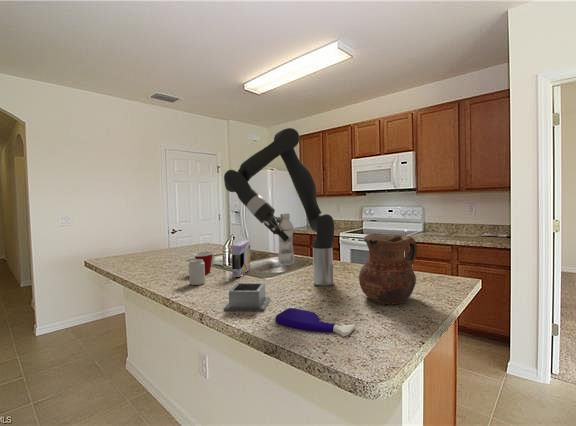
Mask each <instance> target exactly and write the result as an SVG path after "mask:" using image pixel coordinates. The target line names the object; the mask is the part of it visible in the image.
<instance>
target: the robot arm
mask: <svg viewBox="0 0 576 426" xmlns="http://www.w3.org/2000/svg"><path fill="white" fill-rule="evenodd" d="M299 142H300V134H299V132H298V130H297V129H295V128H293V127H286V128H285V127H284V128H283V129H281V130H280V131H277V132H276V133H275V135H274V137H273V141H271V143H270V144H268V145H267V146H264V148H262V149H260V150H258V151H257V152H256V153H253V155H251V156H250V157H248V158H247V159H246V160H244V161H242V163H241V164H240V166H239V169H238V170H236V169H232V168H231V169H228V170H227V171H225V173H224V176H223V182H224V186H225V189H226V190H227V192H230V193H236V195H237V198H238V199H239V200H240V202H241V203H242V204H243V205H244V206H245V208H247V209H248V211H249V212H250V213H251V214H252V215H253V217H255V218H256V220H258V221H259V223H261V224H263V225H264V226H265V227H266V228H267V229H268V230H269V231H270V232H271V233H272V234H273V235H277V236H278V235H279V236H280V237H281V238H282V239H283V240H284V241H287V240H288V239H289V237H288V236H287V235H286V234H285V233H284V232H283V231H282V229H281V228H280V224H279V222H280V221H281V219H280V216H275V215H274V214H275V212H276V210H275V208H273V206H272V205H270V203H268V202H267V200H266V199H264V197H262V196H261V195H260V194H259V193H258V192H257V191H256V190H255V189H254V188H252V186H251V185H250V184H249V181H250V180H251V179H252V178H253V177H254V176H255V175H257V174H258V173H259V172H260V171H262V170H263V169H264V168H266V166H268V165H269V164H270V163H272V162H273V161H274V160H275V159H277V158H278V157H279V156H280V157H281V160H282V161H283V163H284V165H285V167H286V170H287V172H288V174H289V176H290V179H291V182H292V184H293V187H294V188H295V191H296V193H297V195H298V197H299V200H300V202H301V204H302V206H303V209H304V211H305V212H304V213H305V215H306V219H307V221H308V224H309V227H310V229H311V230H312V231H313V232H315V233H316V239H315V240H313V241H312V260H313V261H312V262H313V265H312V266H313V270H312V271H313V284H314V285H317V286H322V287H323V286H325V287H326V286H330V285H331V286H332V285H334V263H333V259H334V257H333V244H334V240H335V221H334V218H333V217H332V216H331V215H330V214H327V213H322V211H321V209H320V207H319V205H318V201H317V187H316V186H317V185H316V183H315V180H314V178H313V176H312V173H311V172H310V170H309V169H308V168H307V167H306V165H305V164H304V163H303V162H302V161H301V159H299V157H298V155H297V152H296V151H295V148H296V147H297V146H298V145H299ZM279 236H278V237H279ZM294 236H295V235H294V234H293V237H294Z"/></svg>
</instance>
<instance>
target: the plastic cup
mask: <svg viewBox="0 0 576 426" xmlns="http://www.w3.org/2000/svg"><path fill="white" fill-rule="evenodd" d="M213 254H214V251H212V250H205V251H199V252H195V253H194V254H193V256H194V258H195V259H202V260H203V262H204V263H205V274H206V275H209V274H211V268H212V259H213ZM208 273H209V274H208Z"/></svg>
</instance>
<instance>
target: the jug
mask: <svg viewBox="0 0 576 426" xmlns="http://www.w3.org/2000/svg"><path fill="white" fill-rule="evenodd" d="M363 240H364V242H365V244H366V246H367V248H368V255H369V256H368V260H367V261H366V262H365V263H364V264H363V265H362V266H361V268H360V271H359V274H358V275H359V276H358V281H359V285H360V289H361V291H362V292H363V294H364V295H365V297H367V298H368V299H370V300H371V301H373V302H374V303H377V304H380V305H381V304H382V305H397V304H402V303H404V302H406V301H407V300H408V299H409V298H410V297H411V295H413V291H414V289H415V287H416V283H417V278H416V276H417V275H416V274H415V272H414V270H413V266H412V265H413V264H414V262H415V259H416V257H417V255H418V245H417V242H416V240H415V239H414V238H413V237H412V236H409V235H406V234H401V235H399V234H389V235H388V234H383V233H381V234H380V233H371V234H368V235H367V234H366V235H365V236H364V237H363ZM408 245H409V252H408V255H406V257H405V251H406V249H407V247H408Z"/></svg>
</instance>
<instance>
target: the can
mask: <svg viewBox="0 0 576 426" xmlns="http://www.w3.org/2000/svg"><path fill="white" fill-rule="evenodd" d="M188 274H189V279H188V280H189V285H191V286H193V285H198V286H202V285H204V283H206V275H205V263H204V262H203V260H202V259H196V258H195V259H190V260H189V263H188ZM201 284H202V285H201Z"/></svg>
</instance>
